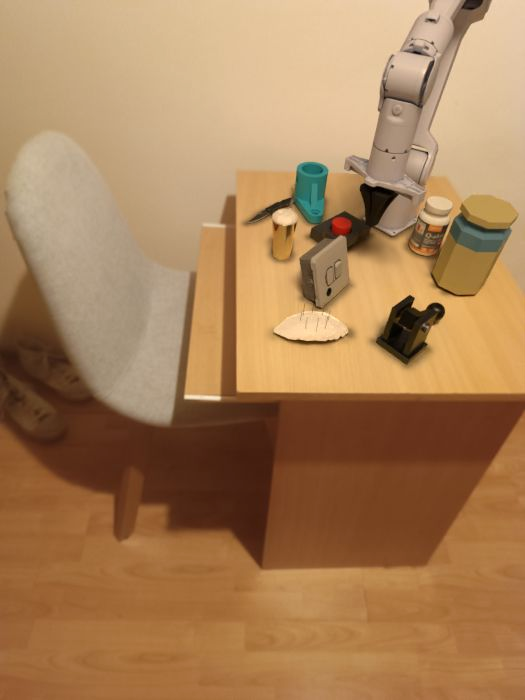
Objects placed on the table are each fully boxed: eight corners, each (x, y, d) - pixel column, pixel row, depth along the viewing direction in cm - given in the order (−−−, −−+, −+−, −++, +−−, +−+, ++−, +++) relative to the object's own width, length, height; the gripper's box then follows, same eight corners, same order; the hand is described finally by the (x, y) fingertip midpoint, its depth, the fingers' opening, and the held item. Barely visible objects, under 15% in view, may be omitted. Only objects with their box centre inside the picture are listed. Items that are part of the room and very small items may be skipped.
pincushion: (274, 348, 72) (277, 321, 67) (272, 320, 76) (274, 293, 71) (351, 347, 72) (358, 321, 68) (344, 319, 76) (351, 293, 72)
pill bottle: (421, 260, 88) (438, 213, 81) (402, 243, 92) (417, 198, 84) (444, 252, 90) (462, 207, 83) (424, 237, 94) (440, 191, 86)
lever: (426, 313, 78) (435, 298, 76) (441, 323, 76) (451, 307, 75) (394, 322, 69) (404, 305, 68) (410, 333, 68) (421, 316, 66)
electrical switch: (320, 311, 78) (324, 264, 71) (295, 299, 80) (296, 253, 74) (349, 284, 83) (355, 238, 76) (325, 274, 85) (328, 228, 79)
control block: (343, 220, 97) (346, 202, 94) (376, 239, 92) (380, 221, 89) (305, 239, 91) (307, 221, 88) (338, 261, 87) (342, 243, 84)
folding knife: (250, 223, 93) (243, 219, 94) (250, 228, 94) (243, 223, 95) (296, 199, 99) (289, 195, 100) (295, 203, 100) (289, 199, 101)
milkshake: (298, 249, 89) (304, 202, 81) (287, 265, 85) (293, 217, 78) (277, 243, 90) (280, 195, 83) (265, 258, 87) (268, 210, 79)
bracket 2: (394, 328, 76) (408, 291, 70) (425, 349, 73) (442, 313, 67) (375, 342, 73) (387, 306, 68) (406, 364, 70) (422, 328, 65)
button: (339, 223, 89) (341, 215, 88) (353, 231, 87) (355, 223, 86) (326, 229, 87) (328, 221, 86) (341, 238, 86) (343, 230, 84)
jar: (482, 304, 81) (521, 229, 70) (428, 291, 82) (459, 216, 71) (482, 273, 87) (519, 200, 76) (432, 261, 88) (461, 188, 77)
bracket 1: (320, 192, 103) (325, 161, 98) (331, 223, 95) (337, 191, 90) (291, 193, 102) (294, 161, 97) (299, 223, 95) (303, 191, 89)
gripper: (337, 135, 71) (325, 213, 81) (416, 172, 64) (392, 252, 75) (366, 123, 75) (350, 200, 85) (444, 157, 68) (417, 236, 78)
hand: (371, 224), depth 80 cm, fingers closed
